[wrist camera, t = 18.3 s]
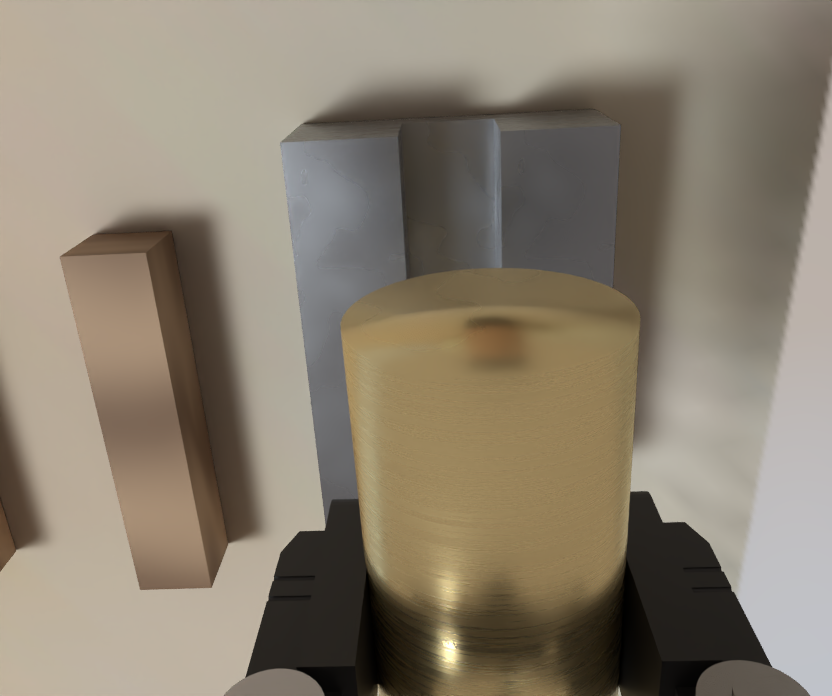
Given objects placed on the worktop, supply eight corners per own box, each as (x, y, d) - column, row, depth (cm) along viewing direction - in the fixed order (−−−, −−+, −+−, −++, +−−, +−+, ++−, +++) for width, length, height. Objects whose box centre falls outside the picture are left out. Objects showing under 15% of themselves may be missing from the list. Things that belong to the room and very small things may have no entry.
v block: (581, 462, 28) (601, 522, 24) (338, 470, 28) (326, 531, 25) (594, 108, 23) (620, 125, 20) (301, 124, 23) (280, 142, 20)
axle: (593, 763, 15) (622, 976, 12) (406, 757, 15) (384, 963, 12) (615, 264, 11) (670, 375, 8) (363, 272, 11) (312, 380, 8)
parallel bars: (228, 544, 29) (211, 587, 27) (-49, 552, 30) (-88, 596, 27) (171, 230, 24) (145, 252, 22) (-157, 246, 25) (-215, 269, 23)
